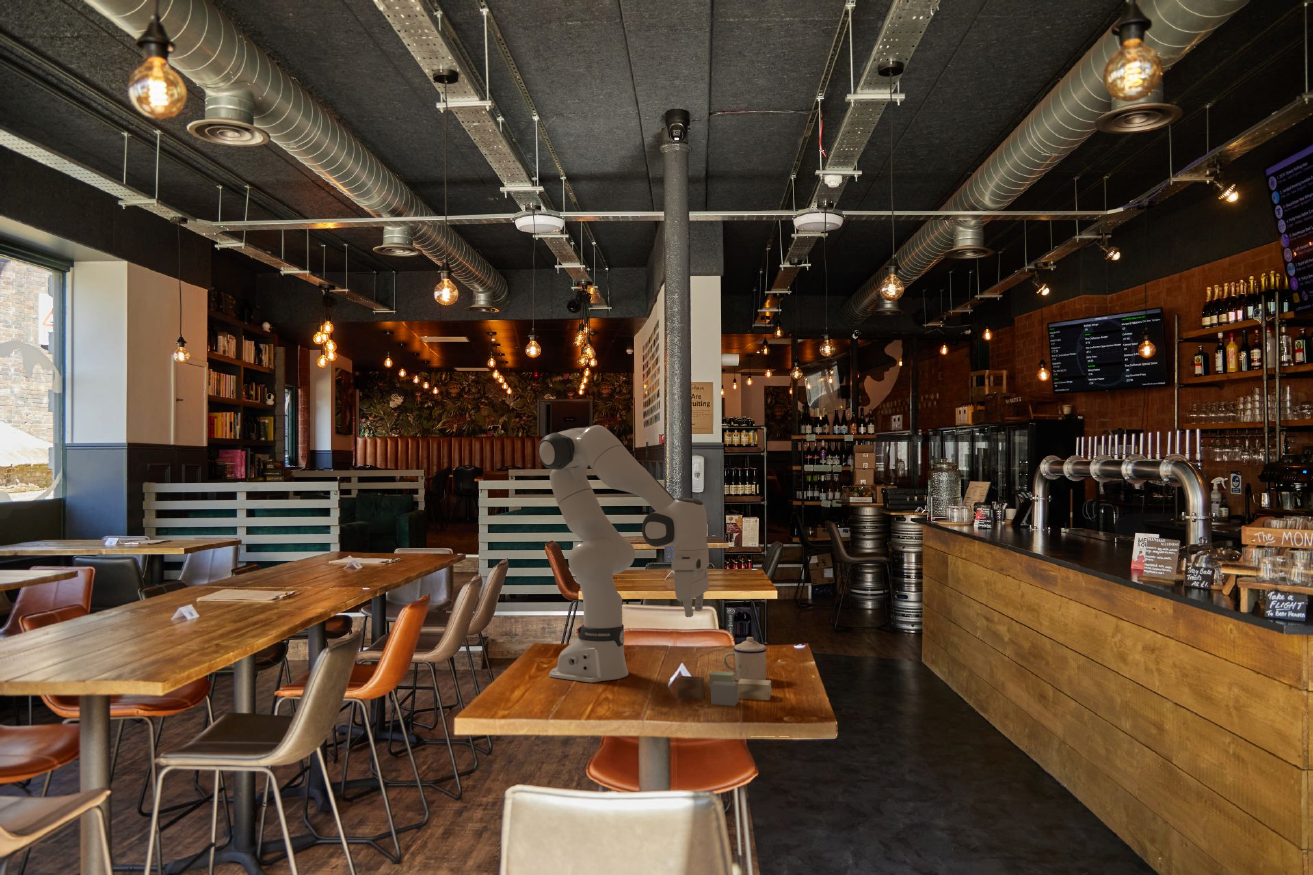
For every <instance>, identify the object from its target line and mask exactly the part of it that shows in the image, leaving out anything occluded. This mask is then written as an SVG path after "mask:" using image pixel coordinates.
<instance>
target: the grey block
mask: <svg viewBox="0 0 1313 875" xmlns="http://www.w3.org/2000/svg"><path fill="white" fill-rule="evenodd" d="M710 698H711V700H710V704H711V705H717V706H730V707H736V706H737V704H738V703H739V699H738V681H737V682H736V681H735V682H723V681H714V682H713V683H712V684H711V693H710Z"/></svg>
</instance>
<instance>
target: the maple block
mask: <svg viewBox="0 0 1313 875" xmlns="http://www.w3.org/2000/svg"><path fill="white" fill-rule="evenodd" d="M737 683H738V700H739V699H742V700H758V701H759V700H760V701H769V700H771V696H772V680H770V679H766V680H754V679H740V680H739V681H737Z"/></svg>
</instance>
